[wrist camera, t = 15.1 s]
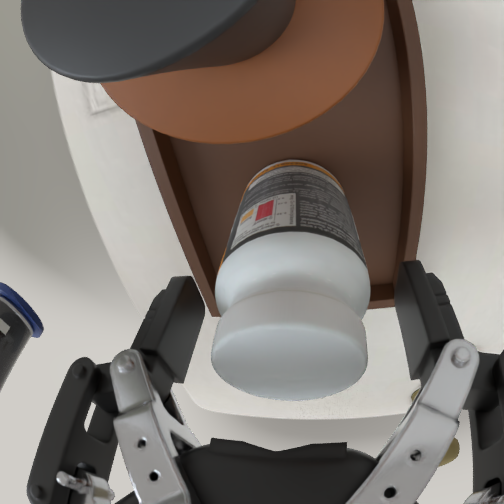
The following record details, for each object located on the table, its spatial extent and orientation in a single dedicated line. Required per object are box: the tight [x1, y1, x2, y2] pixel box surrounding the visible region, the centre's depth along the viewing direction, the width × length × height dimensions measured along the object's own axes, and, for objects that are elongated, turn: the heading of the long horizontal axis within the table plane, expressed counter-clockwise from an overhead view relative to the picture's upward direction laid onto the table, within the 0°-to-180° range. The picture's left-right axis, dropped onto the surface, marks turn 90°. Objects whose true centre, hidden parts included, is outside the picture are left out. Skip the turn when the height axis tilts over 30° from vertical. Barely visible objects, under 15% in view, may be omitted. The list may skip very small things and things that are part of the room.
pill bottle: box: [211, 160, 370, 401], centre depth 12 cm, size 6×6×10 cm
